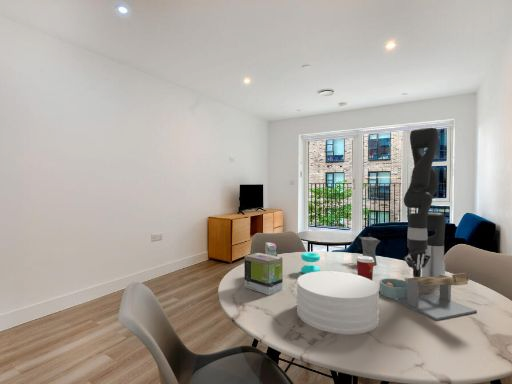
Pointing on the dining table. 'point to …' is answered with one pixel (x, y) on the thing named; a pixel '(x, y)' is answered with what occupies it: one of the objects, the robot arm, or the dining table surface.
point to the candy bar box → (270, 249)
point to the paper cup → (365, 266)
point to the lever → (443, 280)
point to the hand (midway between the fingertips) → (416, 277)
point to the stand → (434, 302)
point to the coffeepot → (368, 246)
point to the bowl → (393, 288)
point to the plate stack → (338, 302)
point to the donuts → (310, 258)
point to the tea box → (263, 273)
